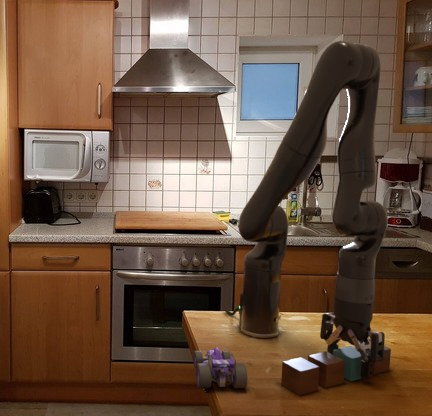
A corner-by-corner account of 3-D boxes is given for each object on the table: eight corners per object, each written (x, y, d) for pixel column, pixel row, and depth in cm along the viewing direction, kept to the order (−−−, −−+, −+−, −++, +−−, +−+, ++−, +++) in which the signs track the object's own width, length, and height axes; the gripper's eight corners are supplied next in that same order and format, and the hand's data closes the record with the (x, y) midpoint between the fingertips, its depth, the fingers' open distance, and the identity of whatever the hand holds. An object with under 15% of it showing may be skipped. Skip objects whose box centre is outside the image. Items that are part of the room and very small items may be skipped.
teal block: (331, 371, 113) (333, 349, 112) (348, 367, 115) (349, 345, 115) (350, 381, 109) (352, 358, 108) (367, 376, 111) (369, 354, 110)
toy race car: (229, 360, 119) (230, 332, 118) (247, 392, 104) (248, 361, 103) (187, 360, 119) (188, 332, 118) (199, 392, 104) (200, 361, 103)
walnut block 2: (306, 377, 110) (307, 355, 110) (324, 373, 112) (325, 351, 112) (325, 388, 106) (326, 364, 105) (343, 383, 108) (344, 360, 107)
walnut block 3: (353, 365, 116) (355, 344, 115) (369, 361, 118) (371, 340, 118) (373, 374, 112) (375, 352, 111) (389, 370, 114) (391, 348, 113)
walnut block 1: (281, 384, 107) (282, 361, 107) (299, 379, 109) (300, 357, 109) (299, 395, 103) (300, 371, 102) (318, 390, 105) (319, 366, 104)
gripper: (314, 288, 114) (310, 359, 117) (371, 308, 102) (364, 387, 104) (339, 284, 117) (334, 353, 120) (397, 303, 105) (390, 379, 107)
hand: (348, 369), depth 112 cm, fingers open, 8 cm apart
